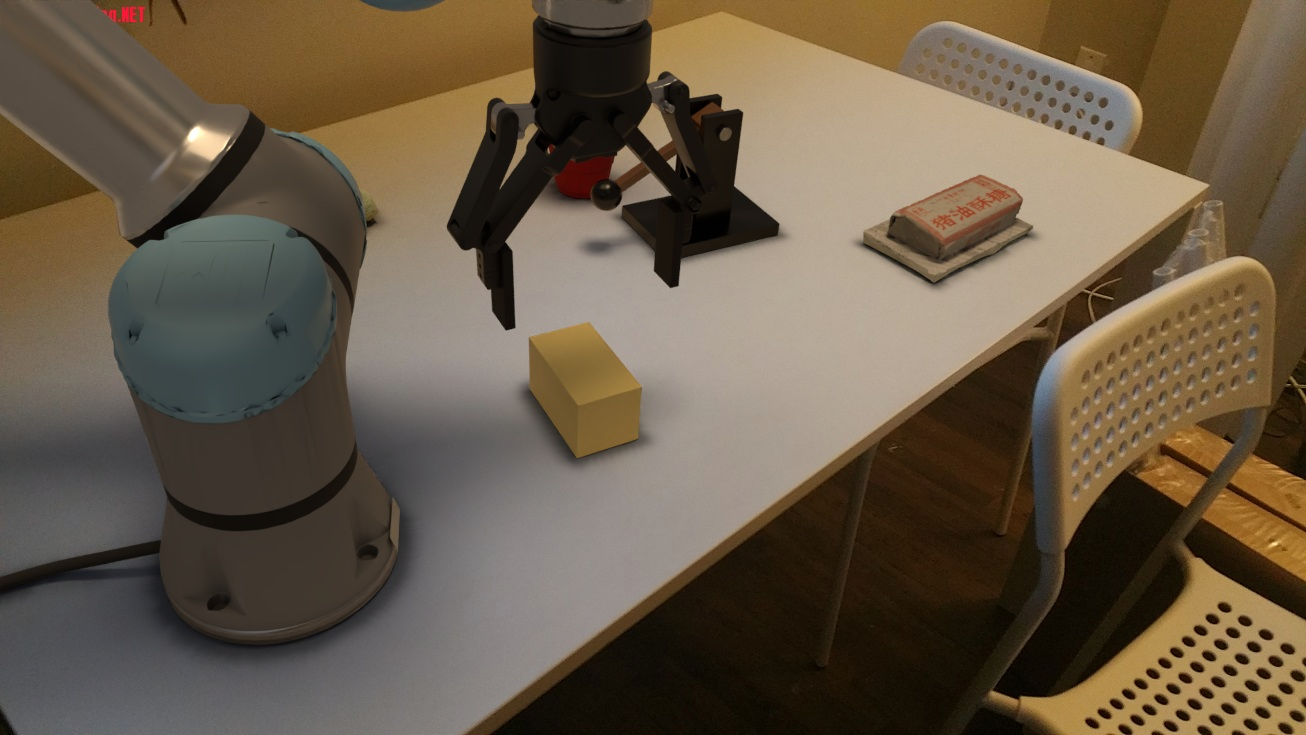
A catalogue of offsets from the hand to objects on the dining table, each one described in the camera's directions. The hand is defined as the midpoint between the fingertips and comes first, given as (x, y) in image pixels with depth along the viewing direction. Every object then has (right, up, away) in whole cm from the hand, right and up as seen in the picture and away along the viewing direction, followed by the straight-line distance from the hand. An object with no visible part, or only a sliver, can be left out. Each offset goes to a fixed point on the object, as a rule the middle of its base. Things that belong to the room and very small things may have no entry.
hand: (587, 298), depth 75 cm
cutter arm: (+6, +15, +26) cm, 31 cm away
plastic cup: (-3, +15, +38) cm, 41 cm away
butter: (-1, -9, +7) cm, 12 cm away
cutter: (+10, +10, +33) cm, 36 cm away
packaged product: (+37, +9, +34) cm, 51 cm away
